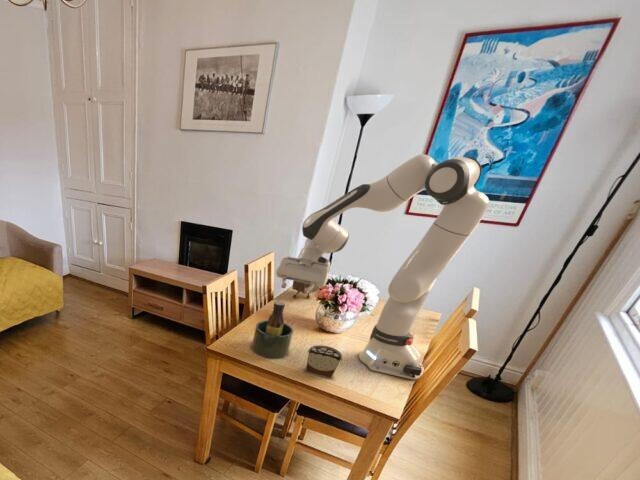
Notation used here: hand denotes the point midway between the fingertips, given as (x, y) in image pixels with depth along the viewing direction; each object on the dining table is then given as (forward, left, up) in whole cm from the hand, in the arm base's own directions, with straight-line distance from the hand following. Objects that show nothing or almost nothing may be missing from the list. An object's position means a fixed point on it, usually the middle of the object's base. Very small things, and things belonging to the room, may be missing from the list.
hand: (294, 290), depth 162 cm
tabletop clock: (+8, -51, -22) cm, 57 cm away
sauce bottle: (0, +14, -21) cm, 25 cm away
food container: (-22, +18, -22) cm, 36 cm away
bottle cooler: (0, +14, -22) cm, 26 cm away
